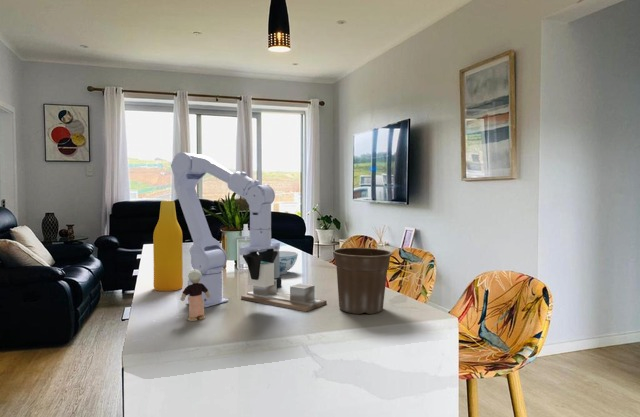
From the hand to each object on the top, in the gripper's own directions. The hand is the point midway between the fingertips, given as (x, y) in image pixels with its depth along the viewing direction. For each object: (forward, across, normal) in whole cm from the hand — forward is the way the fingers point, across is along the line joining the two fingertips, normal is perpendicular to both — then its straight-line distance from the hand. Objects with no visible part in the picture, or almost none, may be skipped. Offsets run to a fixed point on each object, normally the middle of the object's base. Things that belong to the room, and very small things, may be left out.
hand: (260, 278), depth 125 cm
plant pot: (+9, +16, -23) cm, 29 cm away
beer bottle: (+9, +2, +42) cm, 43 cm away
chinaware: (+9, +45, +30) cm, 55 cm away
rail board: (+9, +10, 0) cm, 13 cm away
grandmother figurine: (+9, -17, +7) cm, 20 cm away
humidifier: (+9, +24, +17) cm, 31 cm away
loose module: (+2, 0, 0) cm, 2 cm away
